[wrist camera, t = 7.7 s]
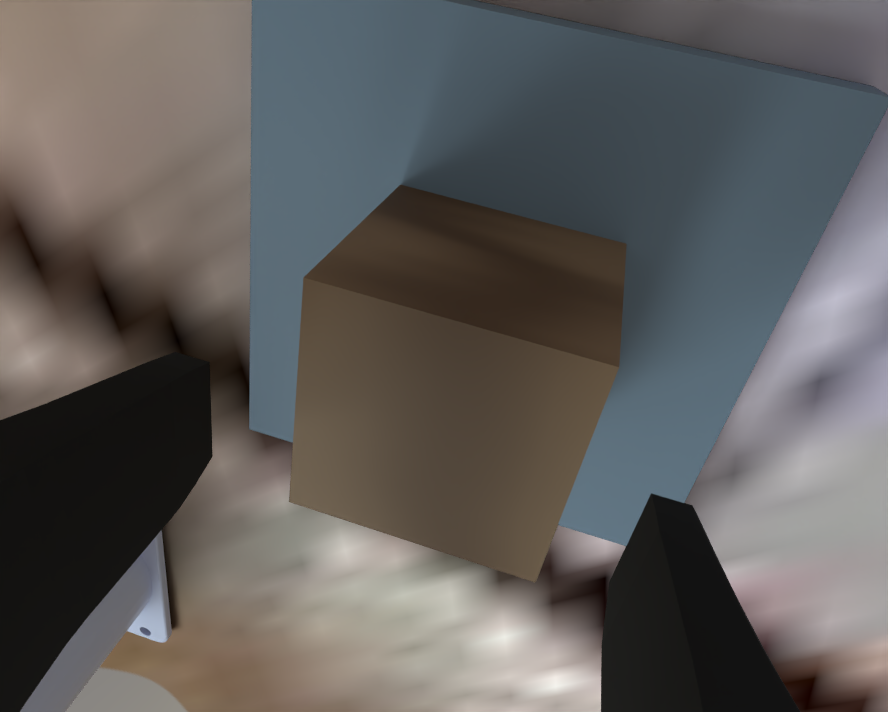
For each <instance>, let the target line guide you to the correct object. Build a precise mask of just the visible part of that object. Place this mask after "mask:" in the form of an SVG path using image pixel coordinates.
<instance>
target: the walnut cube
mask: <svg viewBox="0 0 888 712" xmlns="http://www.w3.org/2000/svg"><path fill="white" fill-rule="evenodd" d="M626 246H627V244H626V243H622V242H618V241H614V240H610V239H606V238H603V237H599V236H595V235H591V234H587V233H584V232H580V231H576V230H572V229H568V228H565V227H561V226H557V225H553V224H549V223H545V222H542V221H538V220H534V219H530V218H526V217H523V216H519V215H515V214H511V213H507V212H503V211H500V210H496V209H492V208H488V207H484V206H481V205H477V204H473V203H469V202H465V201H461V200H458V199H454V198H450V197H446V196H442V195H439V194H435V193H431V192H427V191H423V190H420V189H416V188H412V187H408V186H404V185H399V186H398V187H397V188H396V189H395V190H394V191H393V192H392V193H391V194H390V195H389V196H388V197H387V198H386V199H385V200H384V201H383V202H382V203H381V204H380V205H378V206H377V207H376V208H375V209H374V210H373V211H372V212H371V213H370V214H369V215H368V216H367V217H366V218H365V219H364V220H363V221H362V222H361V223H360V224H359V225H358V226H357V227H356V228H354V229H353V230H352V231H351V232H350V233H349V234H348V235H347V236H346V237H345V238H344V239H343V240H342V241H341V242H340V243H339V244H338V245H337V246H336V247H335V248H334V249H333V250H332V251H331V252H329V253H328V254H327V255H326V256H325V257H324V258H323V259H322V260H321V261H320V262H319V263H318V264H317V265H316V266H315V267H314V268H313V269H312V270H311V271H310V272H309V273H308V274H307V275H305V276H304V277H303V291H302V307H301V323H300V339H299V355H298V370H297V386H296V402H295V418H294V434H293V449H292V465H291V481H290V497H289V502H291V503H294V504H297V505H300V506H303V507H306V508H310V509H313V510H316V511H319V512H322V513H325V514H328V515H331V516H334V517H337V518H340V519H343V520H346V521H349V522H352V523H355V524H358V525H361V526H364V527H368V528H371V529H374V530H377V531H380V532H383V533H386V534H389V535H392V536H395V537H398V538H401V539H404V540H407V541H410V542H413V543H416V544H419V545H422V546H425V547H429V548H432V549H435V550H438V551H441V552H444V553H447V554H450V555H453V556H456V557H459V558H462V559H465V560H468V561H471V562H474V563H477V564H480V565H483V566H487V567H490V568H493V569H496V570H499V571H502V572H505V573H508V574H511V575H514V576H517V577H520V578H523V579H526V580H529V581H532V582H536V580H537V577H538V575H539V572H540V570H541V567H542V564H543V562H544V559H545V557H546V554H547V552H548V549H549V546H550V544H551V541H552V539H553V536H554V534H555V531H556V528H557V526H558V523H559V521H560V518H561V516H562V513H563V511H564V508H565V505H566V503H567V500H568V498H569V495H570V493H571V490H572V487H573V485H574V482H575V480H576V477H577V475H578V472H579V469H580V467H581V464H582V462H583V459H584V457H585V454H586V451H587V449H588V446H589V444H590V441H591V439H592V436H593V434H594V431H595V428H596V426H597V423H598V421H599V418H600V416H601V413H602V410H603V408H604V405H605V403H606V400H607V398H608V395H609V392H610V390H611V387H612V385H613V382H614V380H615V377H616V374H617V372H618V369H619V363H620V347H621V330H622V313H623V296H624V280H625V263H626Z"/></svg>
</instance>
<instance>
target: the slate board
mask: <svg viewBox="0 0 888 712" xmlns="http://www.w3.org/2000/svg"><path fill="white" fill-rule="evenodd" d="M887 108H888V95H887V94H885V93H883V92H882V91H880V90H878V89H877V88H875V87H873V86H869V85H865V84H860V83H855V82H851V81H846V80H841V79H837V78H832V77H827V76H823V75H818V74H814V73H809V72H804V71H800V70H795V69H790V68H786V67H781V66H776V65H772V64H767V63H763V62H758V61H753V60H749V59H744V58H739V57H735V56H730V55H726V54H721V53H716V52H712V51H707V50H702V49H698V48H693V47H688V46H684V45H679V44H675V43H670V42H665V41H661V40H656V39H651V38H647V37H642V36H637V35H633V34H628V33H624V32H619V31H614V30H610V29H605V28H600V27H596V26H591V25H586V24H582V23H577V22H573V21H568V20H563V19H559V18H554V17H549V16H545V15H540V14H536V13H531V12H526V11H522V10H517V9H512V8H508V7H503V6H498V5H494V4H489V3H485V2H480V1H475V0H252V73H251V237H250V402H249V429H250V430H254V431H257V432H260V433H263V434H267V435H270V436H273V437H276V438H279V439H283V440H286V441H289V442H292V443H293V434H294V418H295V402H296V386H297V370H298V355H299V339H300V323H301V307H302V291H303V277H304V276H305V275H307V274H308V273H309V272H310V271H311V270H312V269H313V268H314V267H315V266H316V265H317V264H318V263H319V262H320V261H321V260H322V259H323V258H324V257H325V256H326V255H327V254H328V253H329V252H331V251H332V250H333V249H334V248H335V247H336V246H337V245H338V244H339V243H340V242H341V241H342V240H343V239H344V238H345V237H346V236H347V235H348V234H349V233H350V232H351V231H352V230H353V229H354V228H356V227H357V226H358V225H359V224H360V223H361V222H362V221H363V220H364V219H365V218H366V217H367V216H368V215H369V214H370V213H371V212H372V211H373V210H374V209H375V208H376V207H377V206H378V205H380V204H381V203H382V202H383V201H384V200H385V199H386V198H387V197H388V196H389V195H390V194H391V193H392V192H393V191H394V190H395V189H396V188H397V187H398V186H399V185H404V186H408V187H412V188H416V189H420V190H423V191H427V192H431V193H435V194H439V195H442V196H446V197H450V198H454V199H458V200H461V201H465V202H469V203H473V204H477V205H481V206H484V207H488V208H492V209H496V210H500V211H503V212H507V213H511V214H515V215H519V216H523V217H526V218H530V219H534V220H538V221H542V222H545V223H549V224H553V225H557V226H561V227H565V228H568V229H572V230H576V231H580V232H584V233H587V234H591V235H595V236H599V237H603V238H606V239H610V240H614V241H618V242H622V243H626V244H627V246H626V263H625V280H624V296H623V313H622V330H621V347H620V363H619V369H618V372H617V374H616V377H615V380H614V382H613V385H612V387H611V390H610V392H609V395H608V398H607V400H606V403H605V405H604V408H603V410H602V413H601V416H600V418H599V421H598V423H597V426H596V428H595V431H594V434H593V436H592V439H591V441H590V444H589V446H588V449H587V451H586V454H585V457H584V459H583V462H582V464H581V467H580V469H579V472H578V475H577V477H576V480H575V482H574V485H573V487H572V490H571V493H570V495H569V498H568V500H567V503H566V505H565V508H564V511H563V513H562V516H561V518H560V521H559V523H558V525H560V526H563V527H566V528H570V529H573V530H576V531H579V532H583V533H586V534H589V535H592V536H595V537H599V538H602V539H605V540H608V541H612V542H615V543H618V544H621V545H624V546H627V544H628V542H629V539H630V537H631V535H632V533H633V531H634V529H635V527H636V525H637V522H638V520H639V518H640V516H641V514H642V512H643V510H644V508H645V505H646V503H647V501H648V499H649V497H650V495H651V493H652V494H655V495H659V496H662V497H665V498H669V499H672V500H675V501H679V502H682V503H684V502H685V500H686V498H687V496H688V494H689V492H690V490H691V488H692V486H693V484H694V482H695V481H696V479H697V477H698V475H699V473H700V471H701V469H702V467H703V465H704V463H705V461H706V459H707V457H708V455H709V453H710V451H711V450H712V448H713V446H714V444H715V442H716V440H717V438H718V436H719V434H720V432H721V430H722V428H723V426H724V424H725V422H726V420H727V418H728V417H729V415H730V413H731V411H732V409H733V407H734V405H735V403H736V401H737V399H738V397H739V395H740V393H741V391H742V389H743V387H744V385H745V384H746V382H747V380H748V378H749V376H750V374H751V372H752V370H753V368H754V366H755V364H756V362H757V360H758V358H759V356H760V354H761V352H762V351H763V349H764V347H765V345H766V343H767V341H768V339H769V337H770V335H771V333H772V331H773V329H774V327H775V325H776V323H777V321H778V319H779V318H780V316H781V314H782V312H783V310H784V308H785V306H786V304H787V302H788V300H789V298H790V296H791V294H792V292H793V290H794V288H795V286H796V285H797V283H798V281H799V279H800V277H801V275H802V273H803V271H804V269H805V267H806V265H807V263H808V261H809V259H810V257H811V255H812V253H813V252H814V250H815V248H816V246H817V244H818V242H819V240H820V238H821V236H822V234H823V232H824V230H825V228H826V226H827V224H828V222H829V221H830V219H831V217H832V215H833V213H834V211H835V209H836V207H837V205H838V203H839V201H840V199H841V197H842V195H843V193H844V191H845V189H846V188H847V186H848V184H849V182H850V180H851V178H852V176H853V174H854V172H855V170H856V168H857V166H858V164H859V162H860V160H861V158H862V156H863V155H864V153H865V151H866V149H867V147H868V145H869V143H870V141H871V139H872V137H873V135H874V133H875V131H876V129H877V127H878V125H879V123H880V122H881V120H882V118H883V116H884V114H885V112H886V110H887Z"/></svg>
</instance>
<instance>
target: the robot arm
mask: <svg viewBox="0 0 888 712" xmlns="http://www.w3.org/2000/svg"><path fill="white" fill-rule="evenodd" d="M211 458H212V427H211V396H210V365H209V362H207V361H204V360H200V359H197V358H193V357H190V356H187V355H183V354H180V353H177V352H174V353H172V354H169V355H166V356H163V357H160V358H158V359H155V360H152V361H150V362H147V363H145V364H142V365H140V366H137V367H135V368H132V369H130V370H127V371H125V372H122V373H120V374H118V375H115V376H113V377H110V378H108V379H106V380H103V381H101V382H98V383H96V384H93V385H91V386H88V387H86V388H83V389H81V390H78V391H76V392H73V393H71V394H69V395H66V396H64V397H61V398H59V399H56V400H54V401H51V402H49V403H46V404H44V405H41V406H39V407H36V408H33V409H30V410H28V411H25V412H22V413H19V414H17V415H14V416H11V417H8V418H6V419H3V420H0V712H65V711H66V710H67V709H68V708H69V706H70V705H71V704H72V702H73V701H74V699H75V698H76V697H77V696H78V694H79V693H80V692H81V690H82V689H83V688H84V686H85V685H86V684H87V683H88V681H89V680H90V679H91V677H92V676H93V675H94V673H95V672H96V671H97V669H98V668H99V667H100V665H101V664H102V663H103V662H104V660H105V659H106V658H107V656H108V655H109V654H110V652H111V651H112V650H113V648H114V647H115V646H116V644H117V643H118V642H119V641H120V639H121V638H122V637H123V635H124V634H125V633H126V631H129V632H131V633H134V634H137V635H140V636H143V637H145V638H148V639H151V640H154V641H157V642H166V641H167V640H168V638H169V637H170V636H171V633H172V629H171V619H170V609H169V599H168V589H167V579H166V569H165V559H164V549H163V539H162V529H163V527H164V526H165V525H166V524H167V523H168V521H169V520H170V519H171V518H172V517H173V515H174V514H175V513H176V512H177V510H178V509H179V508H180V507H181V505H182V504H183V502H184V501H185V499H186V498H187V496H188V495H189V493H190V492H191V490H192V488H193V487H194V485H195V484H196V482H197V481H198V479H199V477H200V476H201V474H202V473H203V471H204V469H205V468H206V466H207V464H208V463H209V461H210V460H211ZM601 712H800V711H799V709H798V707H797V706H796V704H795V702H794V701H793V699H792V697H791V696H790V694H789V692H788V690H787V689H786V687H785V685H784V684H783V682H782V680H781V679H780V677H779V675H778V673H777V672H776V670H775V668H774V666H773V664H772V663H771V661H770V659H769V657H768V656H767V654H766V652H765V650H764V648H763V646H762V645H761V643H760V641H759V639H758V637H757V635H756V633H755V631H754V629H753V628H752V626H751V624H750V622H749V620H748V618H747V616H746V614H745V612H744V611H743V609H742V607H741V605H740V603H739V601H738V599H737V597H736V595H735V593H734V591H733V589H732V587H731V585H730V583H729V581H728V579H727V577H726V575H725V572H724V570H723V568H722V566H721V564H720V562H719V560H718V558H717V556H716V554H715V552H714V550H713V547H712V545H711V543H710V541H709V539H708V537H707V535H706V532H705V530H704V528H703V526H702V524H701V522H700V520H699V518H698V515H697V513H696V512H695V510H694V508H693V506H692V505H689V504H686V503H682V502H679V501H675V500H672V499H669V498H665V497H662V496H659V495H655V494H652V493H651V495H650V497H649V499H648V501H647V503H646V505H645V508H644V510H643V512H642V514H641V516H640V518H639V520H638V522H637V525H636V527H635V529H634V531H633V533H632V535H631V537H630V539H629V542H628V544H627V546H626V548H625V550H624V552H623V554H622V557H621V559H620V561H619V563H618V565H617V567H616V569H615V571H614V574H613V576H612V578H611V580H610V583H609V591H608V598H607V606H606V613H605V622H604V630H603V639H602V667H601Z"/></svg>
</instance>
